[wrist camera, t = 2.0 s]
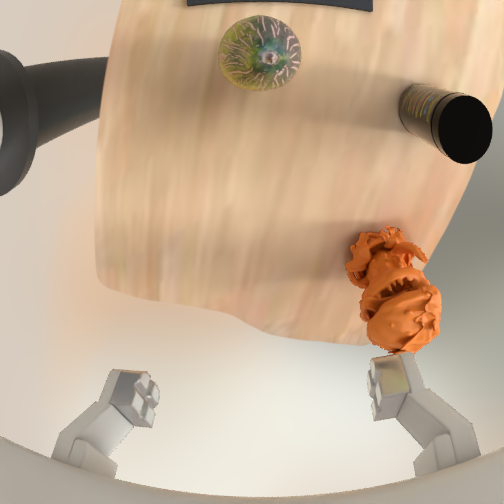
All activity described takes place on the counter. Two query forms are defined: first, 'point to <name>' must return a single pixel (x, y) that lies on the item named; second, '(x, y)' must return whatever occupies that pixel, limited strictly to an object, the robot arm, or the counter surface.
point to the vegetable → (259, 53)
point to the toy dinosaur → (394, 292)
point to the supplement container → (447, 121)
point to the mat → (365, 3)
